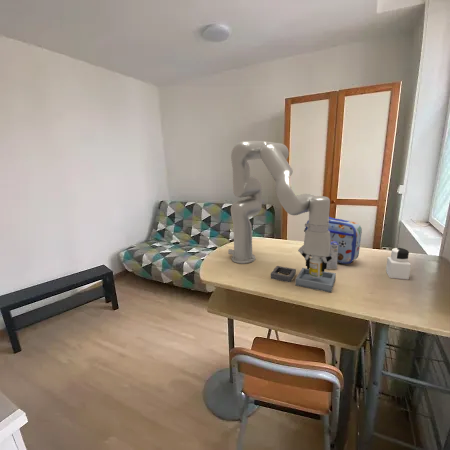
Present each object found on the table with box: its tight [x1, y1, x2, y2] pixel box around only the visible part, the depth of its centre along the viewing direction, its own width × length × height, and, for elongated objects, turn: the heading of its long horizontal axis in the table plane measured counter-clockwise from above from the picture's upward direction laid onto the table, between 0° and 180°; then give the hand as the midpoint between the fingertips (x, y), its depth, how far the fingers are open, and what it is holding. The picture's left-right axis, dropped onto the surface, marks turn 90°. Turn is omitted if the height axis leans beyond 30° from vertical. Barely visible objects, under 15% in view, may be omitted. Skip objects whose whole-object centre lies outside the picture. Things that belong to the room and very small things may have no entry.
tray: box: [295, 267, 337, 293], centre depth 110 cm, size 14×12×3 cm
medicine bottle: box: [385, 247, 412, 280], centre depth 112 cm, size 7×7×12 cm
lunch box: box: [303, 216, 363, 265], centre depth 132 cm, size 28×10×22 cm, turn 42°
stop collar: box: [269, 265, 297, 283], centre depth 117 cm, size 9×9×2 cm
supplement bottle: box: [309, 255, 323, 278], centre depth 109 cm, size 5×5×10 cm
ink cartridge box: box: [321, 241, 338, 270], centre depth 123 cm, size 10×6×14 cm, turn 78°
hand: (315, 268), depth 109 cm, fingers closed on supplement bottle, 5 cm apart
